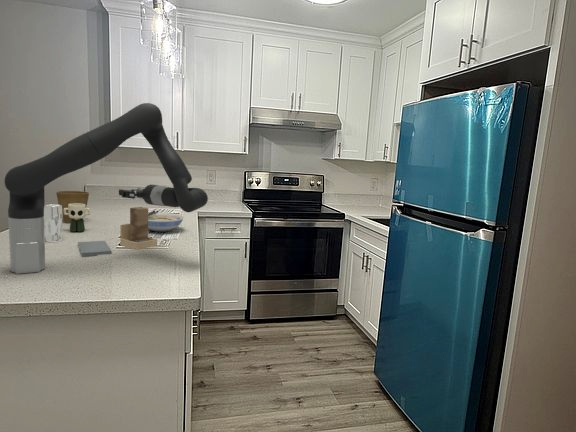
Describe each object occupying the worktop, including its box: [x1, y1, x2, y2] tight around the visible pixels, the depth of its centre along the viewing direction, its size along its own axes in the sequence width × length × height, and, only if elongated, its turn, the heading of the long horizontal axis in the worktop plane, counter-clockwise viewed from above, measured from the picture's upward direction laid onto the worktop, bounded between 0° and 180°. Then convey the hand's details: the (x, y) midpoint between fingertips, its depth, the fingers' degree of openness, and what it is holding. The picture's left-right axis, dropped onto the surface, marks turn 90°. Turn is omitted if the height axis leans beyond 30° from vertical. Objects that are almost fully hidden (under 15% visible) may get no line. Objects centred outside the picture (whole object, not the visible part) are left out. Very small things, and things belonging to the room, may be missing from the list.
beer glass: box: [44, 203, 64, 243], centre depth 157 cm, size 7×7×15 cm
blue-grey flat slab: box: [77, 240, 113, 258], centre depth 147 cm, size 18×10×2 cm, turn 33°
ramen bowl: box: [148, 210, 185, 233], centre depth 191 cm, size 25×23×8 cm
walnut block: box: [129, 206, 149, 243], centre depth 156 cm, size 5×5×16 cm
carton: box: [119, 223, 158, 251], centre depth 156 cm, size 13×16×9 cm
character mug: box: [64, 203, 91, 232], centre depth 176 cm, size 11×7×13 cm, turn 115°
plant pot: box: [55, 190, 90, 224], centre depth 196 cm, size 15×15×16 cm
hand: (128, 191), depth 146 cm, fingers open, 8 cm apart
